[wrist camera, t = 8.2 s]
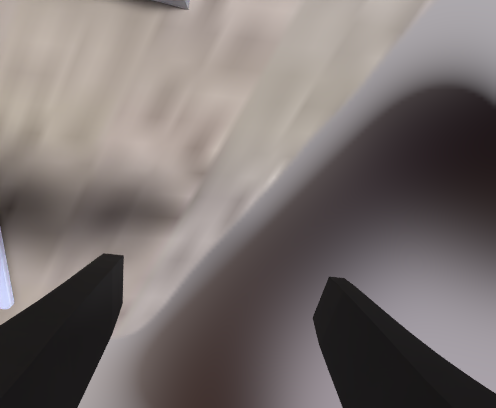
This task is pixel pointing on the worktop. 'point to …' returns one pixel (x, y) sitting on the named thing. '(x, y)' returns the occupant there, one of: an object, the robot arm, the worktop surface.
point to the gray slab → (176, 3)
